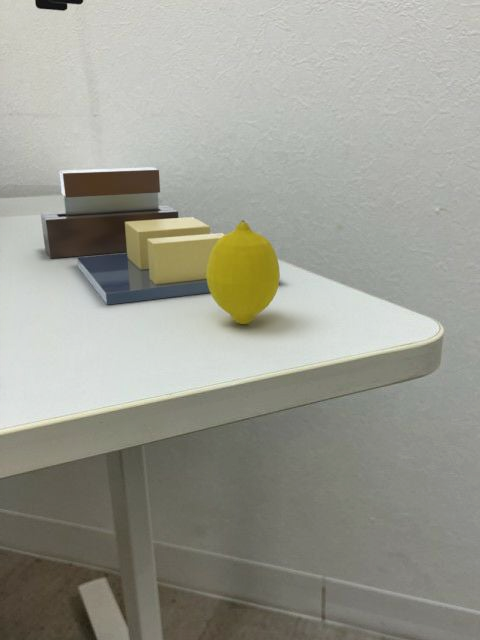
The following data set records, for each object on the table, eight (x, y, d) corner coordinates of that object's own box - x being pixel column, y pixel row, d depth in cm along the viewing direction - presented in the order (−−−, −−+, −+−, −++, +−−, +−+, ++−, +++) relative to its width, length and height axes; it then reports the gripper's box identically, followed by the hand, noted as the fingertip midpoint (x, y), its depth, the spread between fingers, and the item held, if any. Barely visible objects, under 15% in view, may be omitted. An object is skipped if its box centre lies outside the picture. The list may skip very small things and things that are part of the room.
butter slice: (155, 284, 57) (153, 243, 56) (149, 278, 59) (146, 238, 57) (230, 276, 60) (230, 237, 59) (222, 271, 62) (222, 232, 60)
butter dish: (106, 304, 55) (105, 293, 55) (78, 267, 66) (77, 257, 65) (279, 284, 62) (279, 274, 61) (227, 253, 72) (227, 244, 72)
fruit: (279, 312, 54) (281, 213, 51) (278, 335, 49) (280, 228, 46) (211, 310, 54) (209, 212, 51) (204, 334, 49) (200, 226, 46)
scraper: (72, 255, 70) (62, 173, 67) (68, 250, 72) (59, 170, 69) (163, 247, 74) (159, 169, 71) (157, 242, 76) (153, 167, 73)
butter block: (140, 270, 61) (137, 231, 60) (127, 258, 66) (124, 221, 64) (211, 263, 64) (210, 226, 63) (194, 251, 68) (193, 216, 67)
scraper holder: (50, 258, 69) (45, 219, 67) (45, 250, 72) (40, 213, 70) (179, 247, 74) (178, 211, 73) (169, 240, 78) (167, 205, 76)
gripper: (-10, -189, 65) (11, 8, 72) (3, -258, 51) (28, -4, 58) (68, -174, 68) (81, 14, 75) (102, -235, 54) (114, 4, 61)
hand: (58, 6), depth 67 cm, fingers open, 9 cm apart
